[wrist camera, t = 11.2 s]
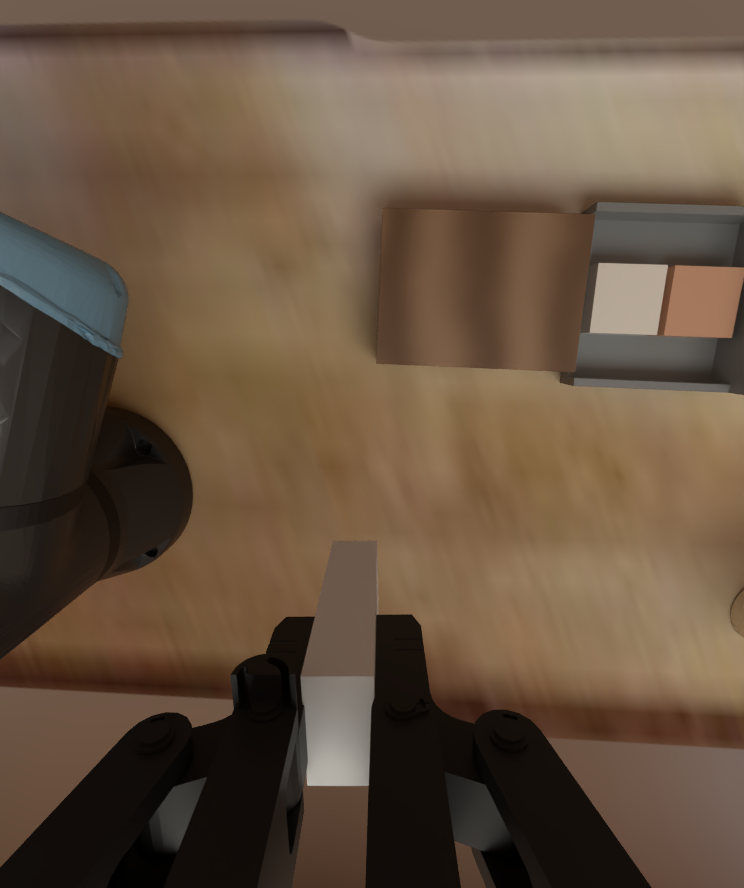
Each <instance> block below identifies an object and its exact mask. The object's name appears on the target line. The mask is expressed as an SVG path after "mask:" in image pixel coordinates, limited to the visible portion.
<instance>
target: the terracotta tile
mask: <svg viewBox="0 0 744 888" xmlns="http://www.w3.org/2000/svg"><path fill="white" fill-rule="evenodd" d="M743 279H744V268H741V267H711V266H681V265H675V266H671V267H668V269H667V275H666V281H665V287H664V294H663V300H662V306H661V312H660V319H659V325H658V331H657V335H646V336H659V337H685V338H732V335H733V330H734V325H735V320H736V315H737V309H738V304H739V299H740V294H741V289H742V284H743Z"/></svg>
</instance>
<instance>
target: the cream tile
mask: <svg viewBox="0 0 744 888" xmlns="http://www.w3.org/2000/svg"><path fill="white" fill-rule="evenodd" d="M667 269H668V265H653V264H619V263H597V264H595V265H592V266H590V267H589V274H588V281H587V289H586V297H585V304H584V312H583V319H582V327H581V334H607V335H636V336H643V335H657V331H658V325H659V319H660V312H661V306H662V300H663V294H664V287H665V281H666V275H667Z"/></svg>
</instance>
